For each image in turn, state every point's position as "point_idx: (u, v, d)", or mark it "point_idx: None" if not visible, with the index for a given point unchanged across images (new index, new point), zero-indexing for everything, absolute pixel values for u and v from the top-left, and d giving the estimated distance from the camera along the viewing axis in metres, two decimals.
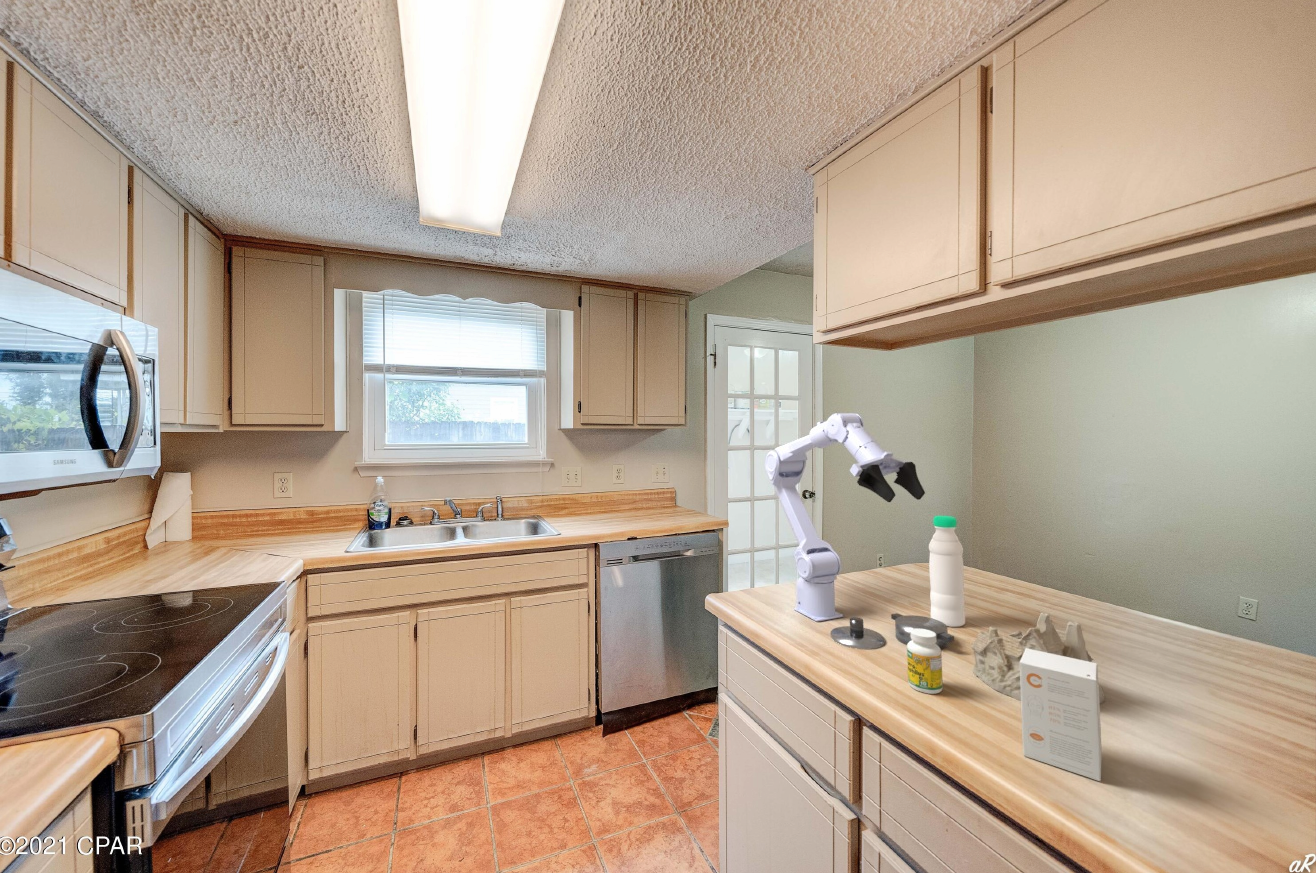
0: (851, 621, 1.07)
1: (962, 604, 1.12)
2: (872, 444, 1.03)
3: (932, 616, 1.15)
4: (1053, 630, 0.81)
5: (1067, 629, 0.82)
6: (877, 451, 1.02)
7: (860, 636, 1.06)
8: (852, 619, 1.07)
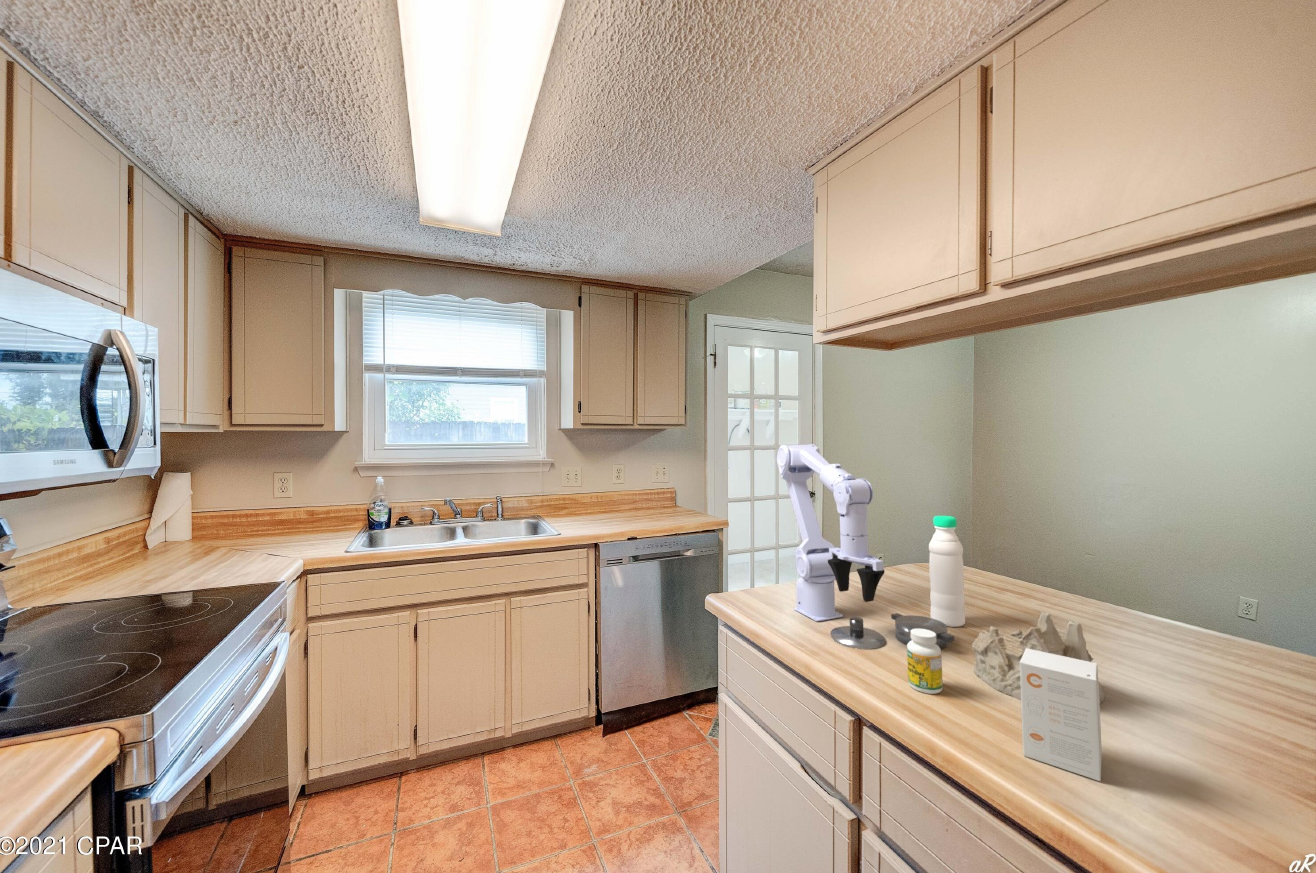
0: (851, 621, 1.07)
1: (962, 604, 1.12)
2: (841, 538, 1.07)
3: (932, 616, 1.15)
4: (1054, 629, 0.81)
5: (1068, 628, 0.82)
6: (841, 547, 1.07)
7: (860, 636, 1.06)
8: (852, 619, 1.07)
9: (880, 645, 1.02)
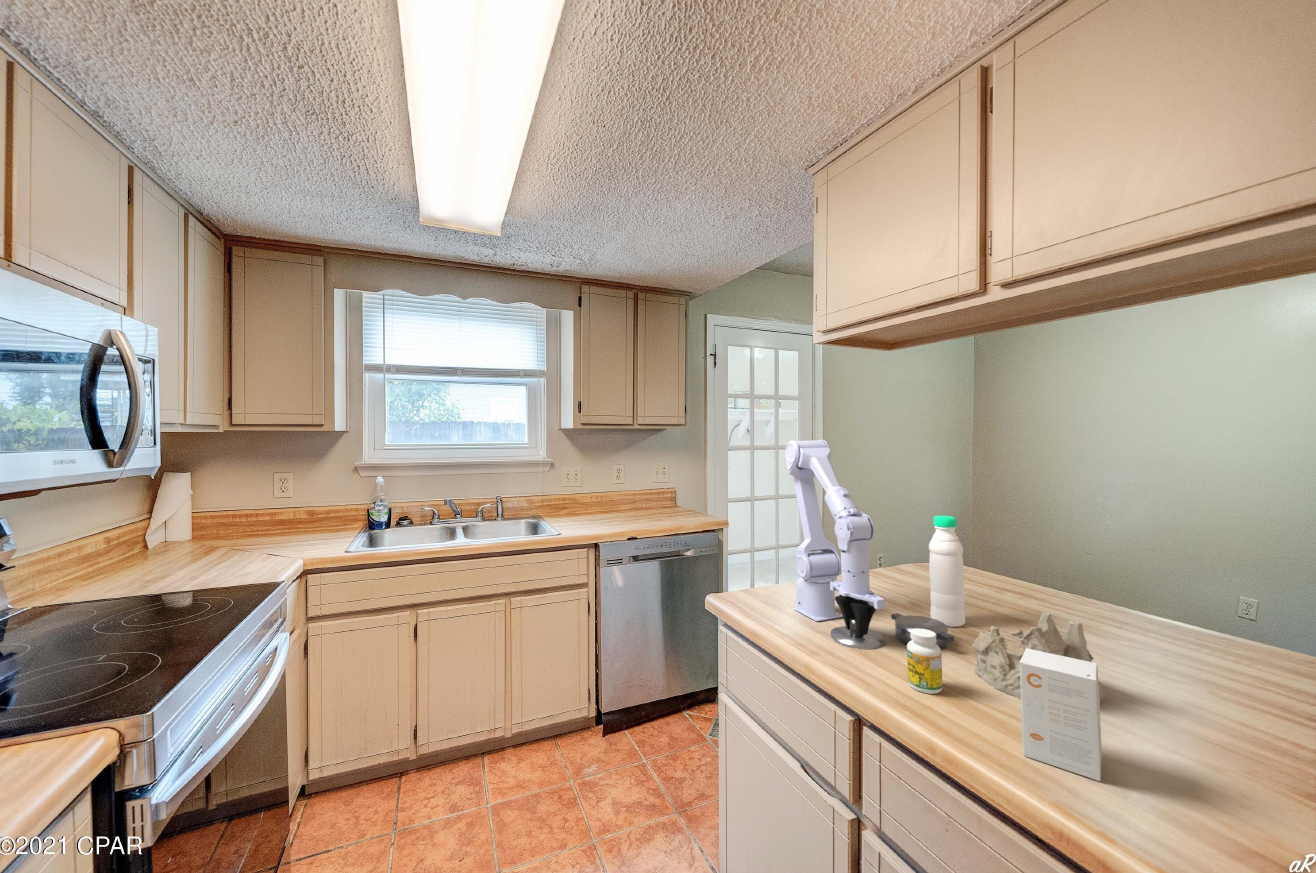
0: (851, 621, 1.07)
1: (962, 604, 1.12)
2: (842, 573, 1.07)
3: (932, 616, 1.15)
4: (1054, 629, 0.82)
5: (1068, 628, 0.82)
6: (842, 583, 1.07)
7: (860, 636, 1.06)
8: (852, 619, 1.07)
9: (880, 645, 1.02)
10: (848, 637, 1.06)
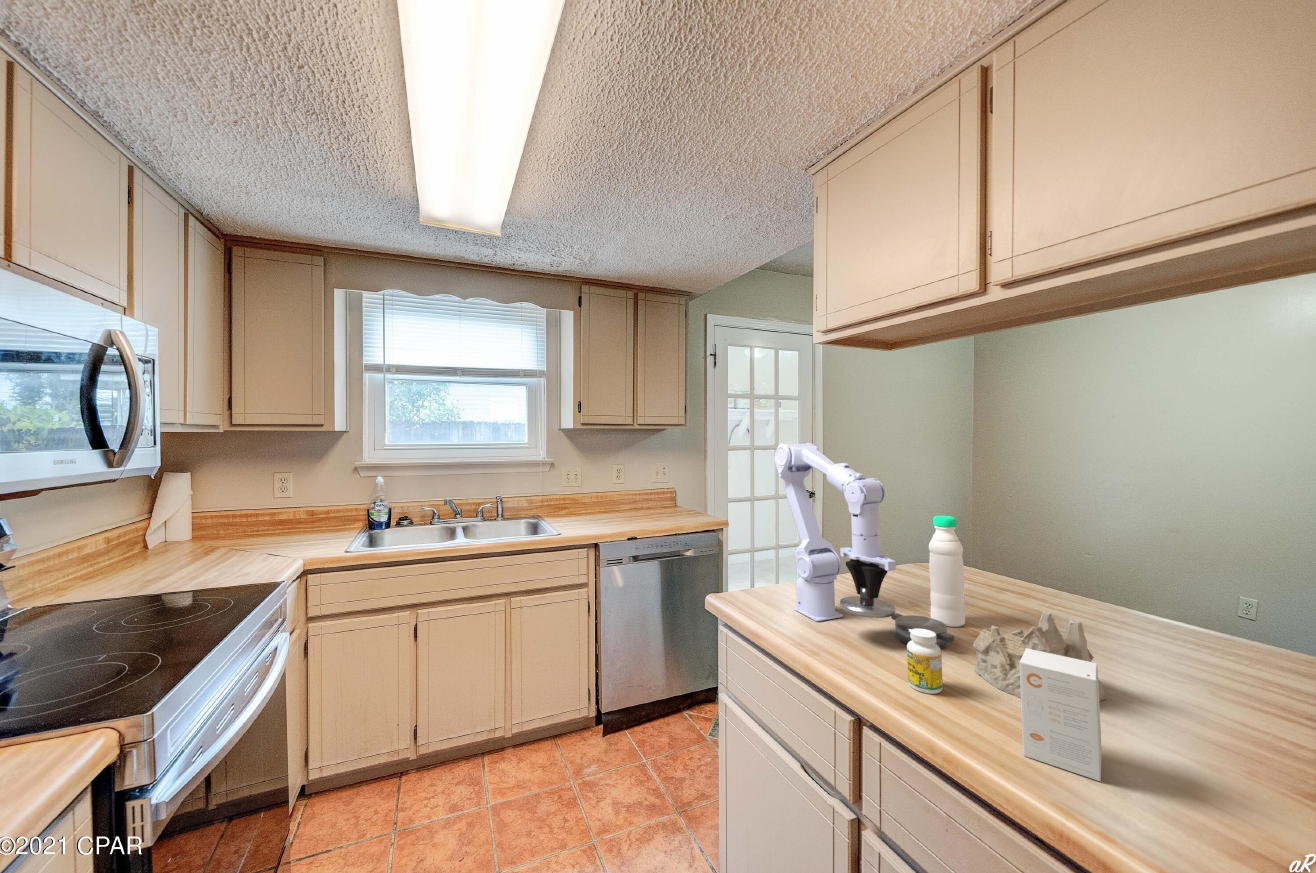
0: (861, 589, 1.06)
1: (962, 604, 1.12)
2: (853, 537, 1.07)
3: (932, 616, 1.15)
4: (1055, 628, 0.82)
5: (1068, 627, 0.83)
6: (853, 547, 1.07)
7: (870, 604, 1.05)
8: (862, 587, 1.07)
9: (890, 613, 1.02)
10: (858, 605, 1.06)
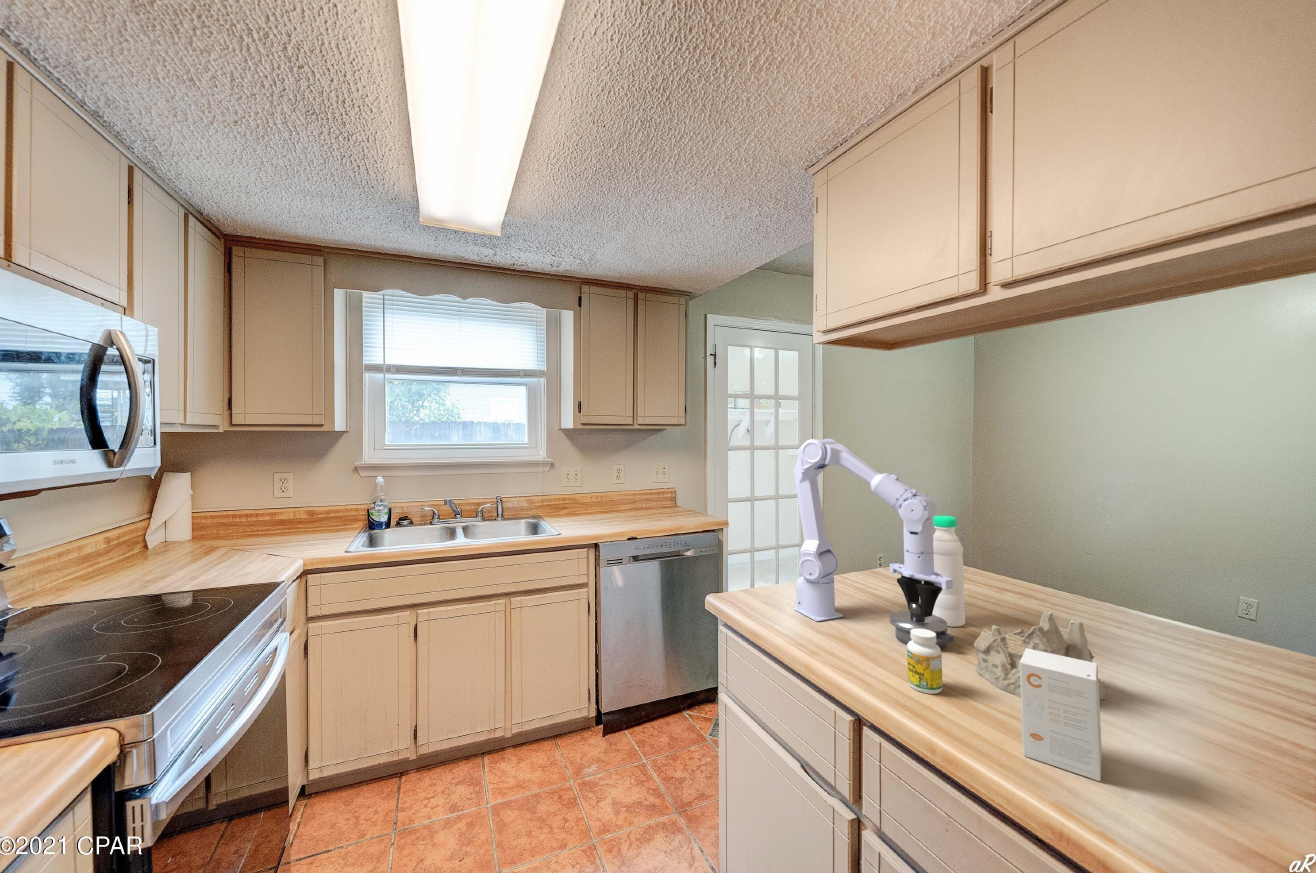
0: (912, 604, 1.05)
1: (962, 604, 1.12)
2: (906, 554, 1.05)
3: None
4: (1056, 628, 0.82)
5: (1069, 627, 0.83)
6: (906, 564, 1.05)
7: (921, 620, 1.04)
8: (913, 603, 1.05)
9: (943, 629, 1.00)
10: (908, 621, 1.04)
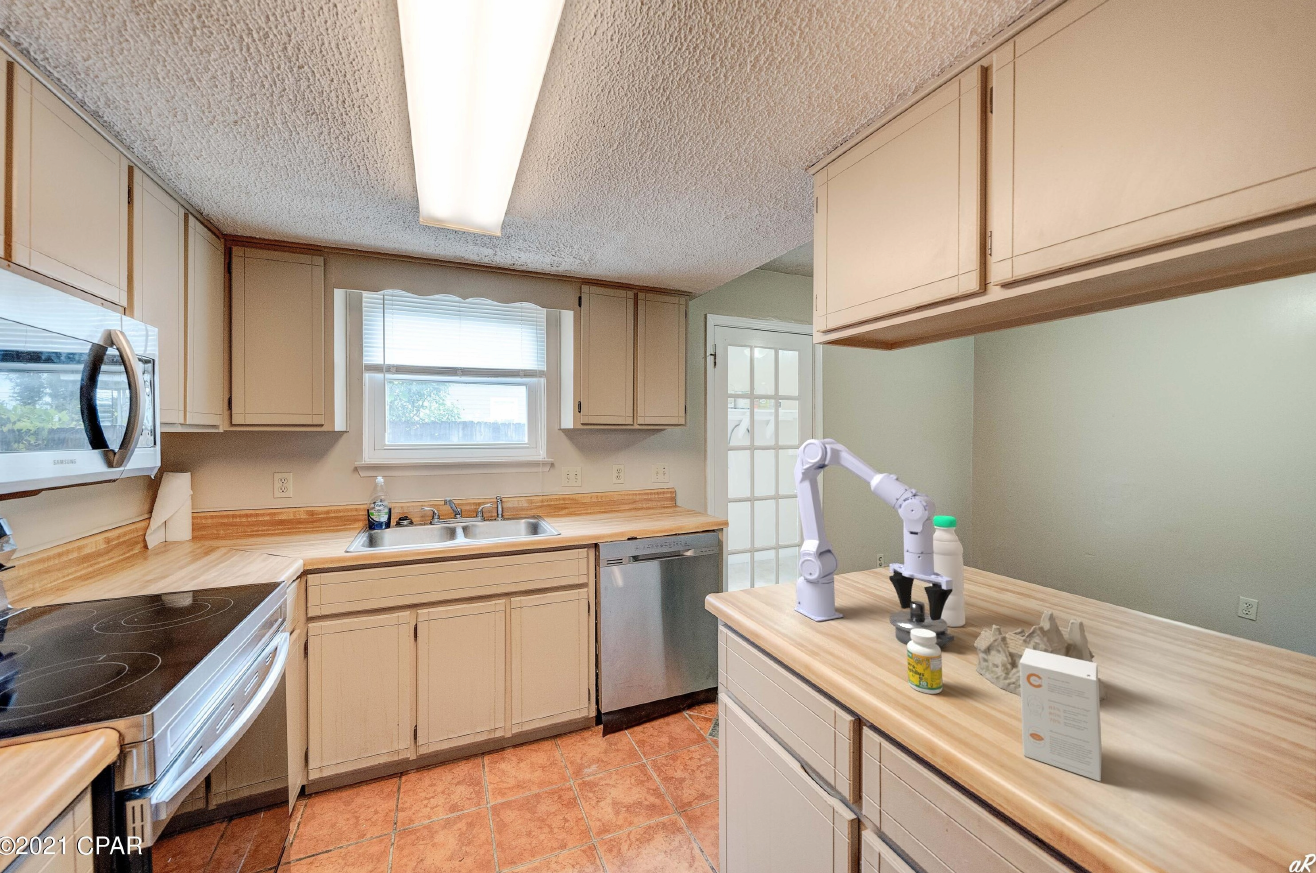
0: (912, 605, 1.05)
1: (962, 604, 1.12)
2: (906, 554, 1.05)
3: None
4: (1056, 628, 0.82)
5: (1069, 626, 0.83)
6: (906, 564, 1.05)
7: (921, 620, 1.04)
8: (913, 603, 1.05)
9: (943, 629, 1.00)
10: (908, 621, 1.04)
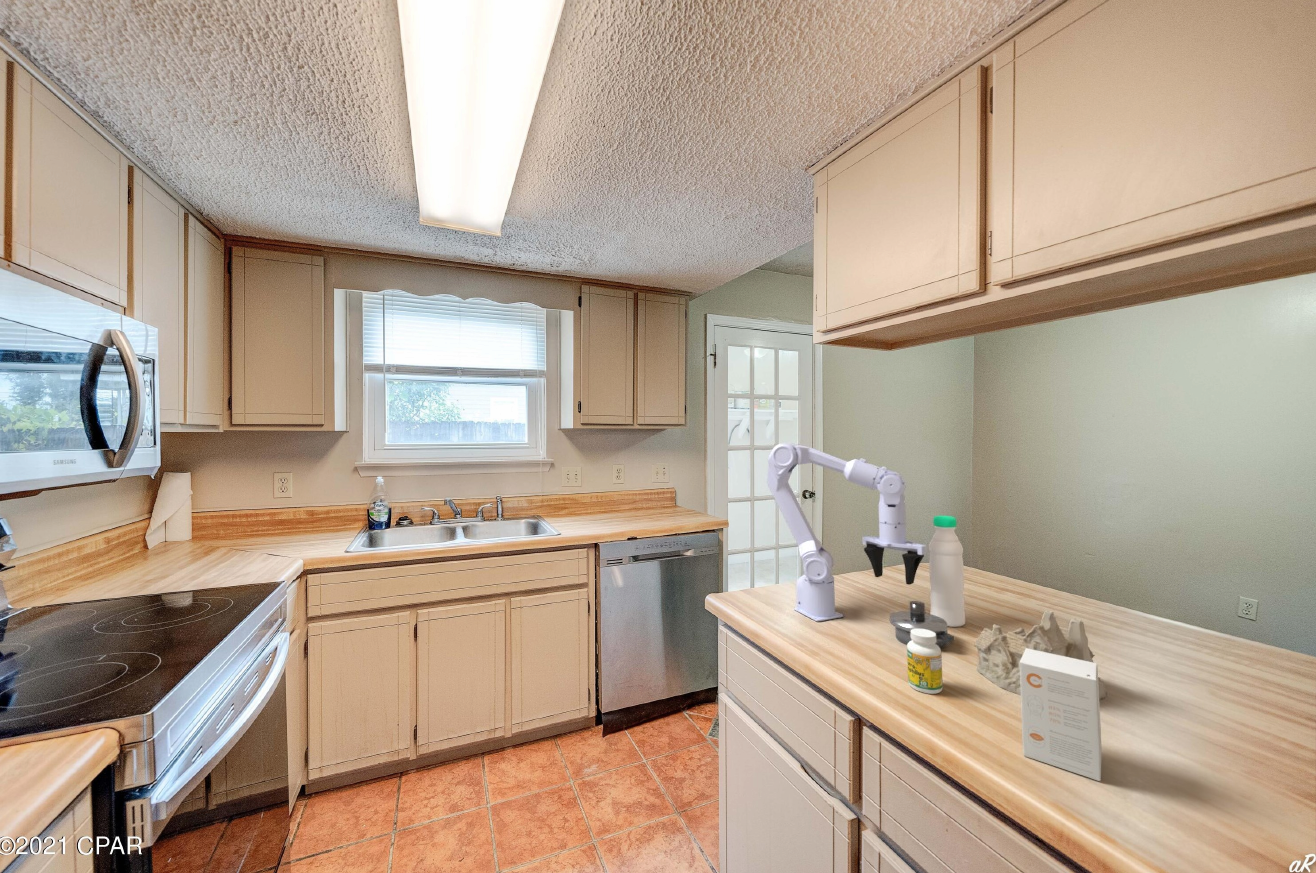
0: (912, 605, 1.05)
1: (962, 604, 1.12)
2: (883, 526, 1.14)
3: None
4: (1057, 627, 0.82)
5: (1070, 626, 0.83)
6: (882, 535, 1.14)
7: (921, 620, 1.04)
8: (913, 603, 1.05)
9: (943, 629, 1.00)
10: (908, 621, 1.04)
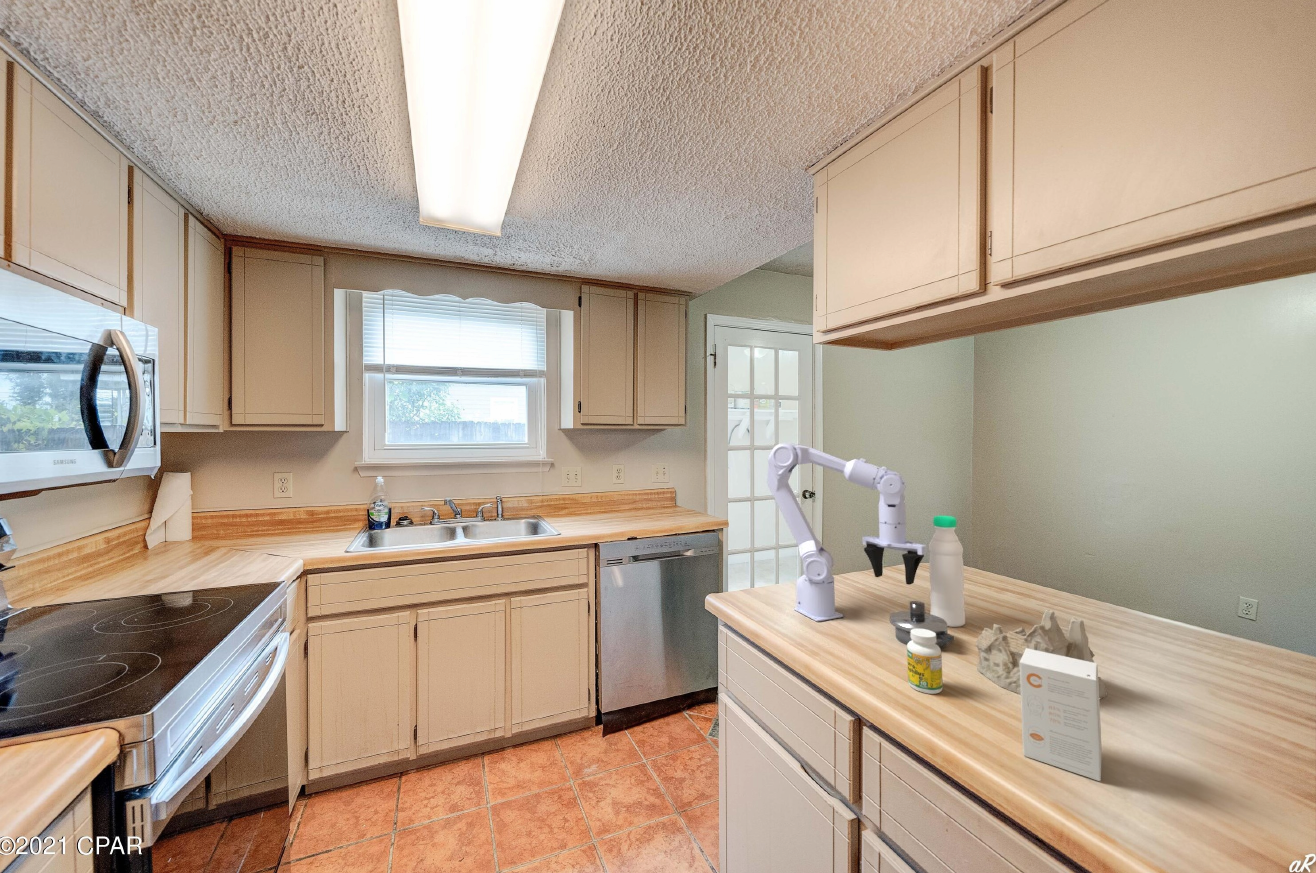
0: (912, 605, 1.05)
1: (962, 604, 1.12)
2: (883, 526, 1.14)
3: None
4: (1057, 627, 0.83)
5: (1070, 626, 0.83)
6: (882, 535, 1.14)
7: (921, 620, 1.04)
8: (913, 603, 1.05)
9: (943, 629, 1.00)
10: (908, 621, 1.04)
